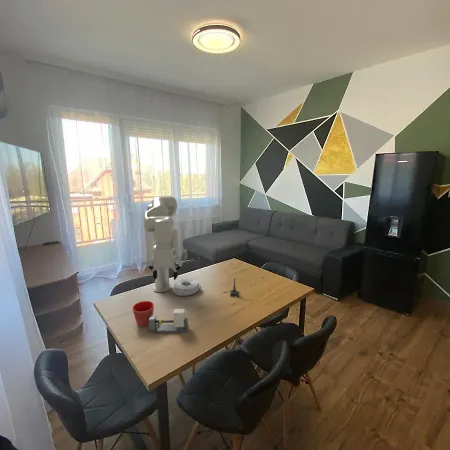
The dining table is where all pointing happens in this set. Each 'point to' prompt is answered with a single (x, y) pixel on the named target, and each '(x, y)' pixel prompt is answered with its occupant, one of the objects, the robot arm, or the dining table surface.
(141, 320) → the flower pot
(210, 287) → the dining table surface
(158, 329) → the grey slider rail
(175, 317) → the white sliding block
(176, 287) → the cable
